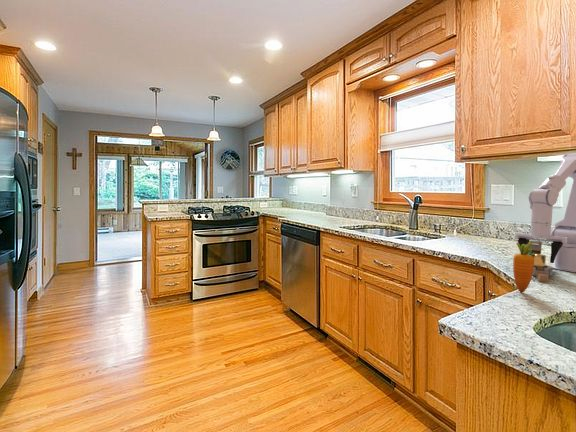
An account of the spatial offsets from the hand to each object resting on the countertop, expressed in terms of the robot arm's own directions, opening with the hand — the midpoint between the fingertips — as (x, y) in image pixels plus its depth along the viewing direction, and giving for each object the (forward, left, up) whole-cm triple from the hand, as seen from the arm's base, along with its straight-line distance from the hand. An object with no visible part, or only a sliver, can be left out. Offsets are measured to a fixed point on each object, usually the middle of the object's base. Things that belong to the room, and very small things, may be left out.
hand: (538, 260), depth 116 cm
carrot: (+29, +8, -5) cm, 31 cm away
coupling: (+3, -1, -5) cm, 6 cm away
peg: (0, 0, -5) cm, 5 cm away
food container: (-8, -6, -5) cm, 11 cm away
